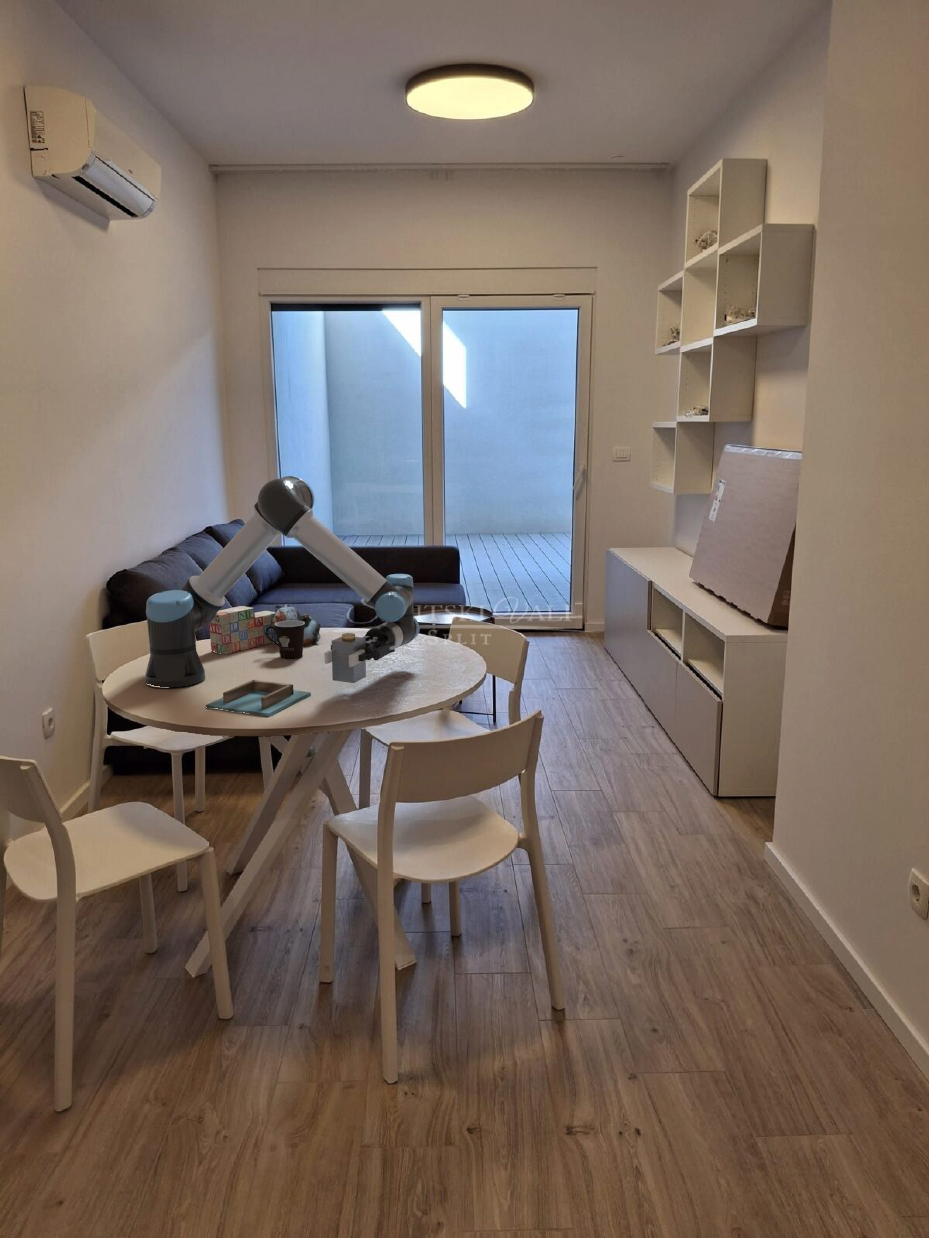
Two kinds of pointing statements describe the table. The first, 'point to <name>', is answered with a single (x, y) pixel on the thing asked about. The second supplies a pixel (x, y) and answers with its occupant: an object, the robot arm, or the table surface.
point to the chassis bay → (259, 698)
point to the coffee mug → (289, 638)
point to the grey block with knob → (347, 658)
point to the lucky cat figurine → (292, 614)
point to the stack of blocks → (240, 629)
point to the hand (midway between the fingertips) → (338, 659)
